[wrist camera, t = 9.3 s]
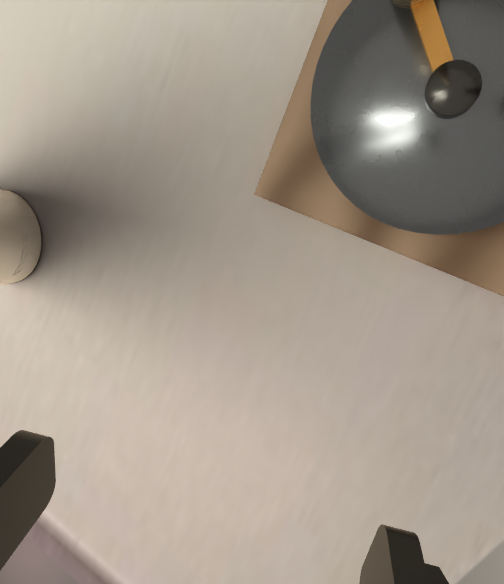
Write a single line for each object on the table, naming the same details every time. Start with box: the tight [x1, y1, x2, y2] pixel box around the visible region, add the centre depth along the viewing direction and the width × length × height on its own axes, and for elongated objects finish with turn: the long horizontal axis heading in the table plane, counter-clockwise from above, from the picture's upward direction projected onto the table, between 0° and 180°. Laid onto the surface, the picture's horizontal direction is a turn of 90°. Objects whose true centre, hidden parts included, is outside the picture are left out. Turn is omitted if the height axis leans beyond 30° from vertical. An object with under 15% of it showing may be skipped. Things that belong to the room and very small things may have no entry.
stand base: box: [254, 0, 504, 296], centre depth 28 cm, size 20×20×2 cm
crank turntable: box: [310, 0, 504, 235], centre depth 22 cm, size 17×17×10 cm
